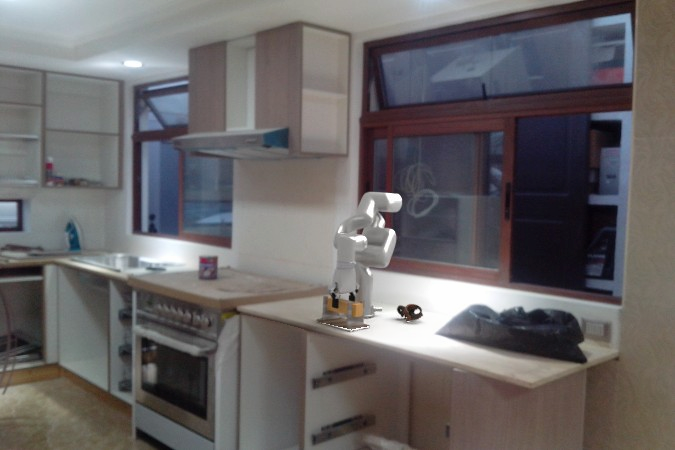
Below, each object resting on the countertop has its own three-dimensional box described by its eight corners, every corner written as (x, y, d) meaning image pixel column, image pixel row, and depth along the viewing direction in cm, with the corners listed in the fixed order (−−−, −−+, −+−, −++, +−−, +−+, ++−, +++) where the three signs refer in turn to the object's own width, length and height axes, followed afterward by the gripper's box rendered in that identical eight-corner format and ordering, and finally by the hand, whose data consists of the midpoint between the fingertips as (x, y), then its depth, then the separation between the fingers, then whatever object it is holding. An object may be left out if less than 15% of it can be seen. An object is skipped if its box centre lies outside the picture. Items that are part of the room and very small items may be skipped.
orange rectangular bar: (324, 309, 269) (325, 296, 269) (331, 307, 272) (331, 295, 271) (355, 317, 256) (356, 304, 256) (362, 316, 259) (363, 303, 259)
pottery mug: (423, 320, 283) (426, 306, 278) (416, 333, 276) (419, 319, 271) (398, 310, 287) (401, 296, 282) (390, 322, 280) (393, 309, 275)
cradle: (316, 321, 268) (317, 295, 267) (334, 318, 275) (336, 292, 274) (350, 331, 253) (352, 304, 253) (369, 328, 261) (370, 301, 260)
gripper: (353, 263, 271) (351, 302, 273) (324, 265, 259) (322, 307, 260) (366, 265, 266) (364, 305, 267) (337, 268, 254) (335, 310, 255)
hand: (343, 306), depth 264 cm, fingers open, 9 cm apart
